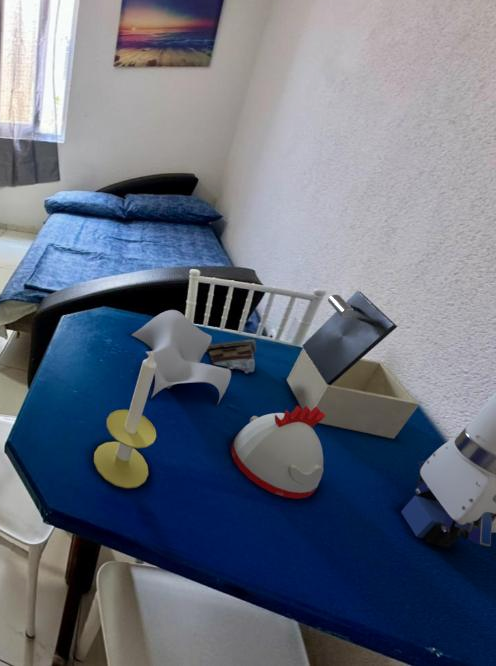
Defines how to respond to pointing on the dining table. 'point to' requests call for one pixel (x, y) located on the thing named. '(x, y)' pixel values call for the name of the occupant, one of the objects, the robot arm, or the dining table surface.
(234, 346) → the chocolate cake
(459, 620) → the dining table surface
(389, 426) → the open box
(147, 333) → the sculpture
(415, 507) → the blue block
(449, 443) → the robot arm
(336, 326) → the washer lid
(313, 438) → the kitchen timer
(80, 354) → the dining table surface
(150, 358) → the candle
